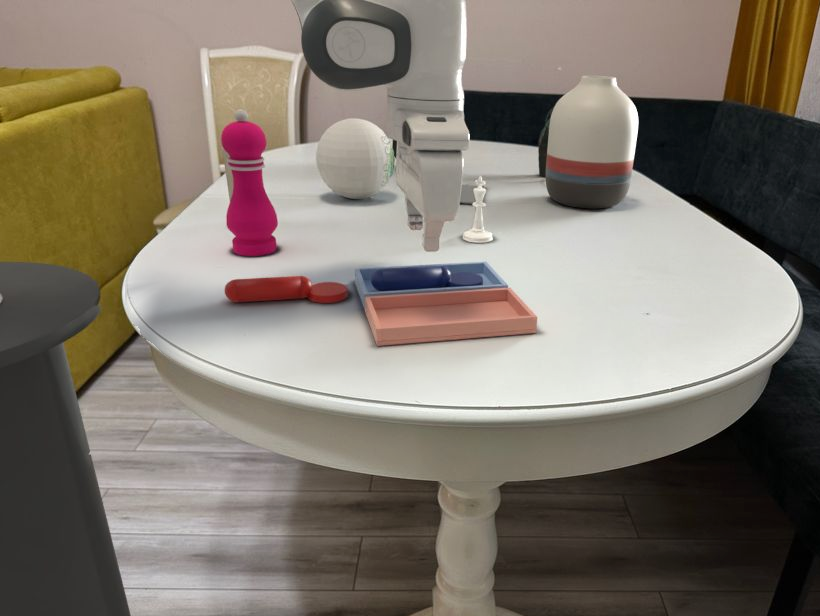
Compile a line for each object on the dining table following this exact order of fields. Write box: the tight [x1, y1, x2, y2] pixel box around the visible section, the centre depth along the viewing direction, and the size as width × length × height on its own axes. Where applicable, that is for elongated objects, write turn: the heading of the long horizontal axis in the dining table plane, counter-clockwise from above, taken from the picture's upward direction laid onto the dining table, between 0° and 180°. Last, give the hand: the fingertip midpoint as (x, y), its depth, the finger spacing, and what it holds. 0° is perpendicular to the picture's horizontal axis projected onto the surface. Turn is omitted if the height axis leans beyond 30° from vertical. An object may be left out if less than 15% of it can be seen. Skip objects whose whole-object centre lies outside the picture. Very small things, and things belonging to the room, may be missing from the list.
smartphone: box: [460, 184, 485, 205], centre depth 139 cm, size 8×1×16 cm
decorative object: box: [315, 117, 396, 200], centre depth 130 cm, size 15×15×15 cm
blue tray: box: [353, 261, 509, 311], centre depth 87 cm, size 18×10×2 cm, turn 105°
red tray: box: [364, 287, 538, 347], centre depth 78 cm, size 18×10×2 cm, turn 105°
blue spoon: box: [371, 266, 483, 291], centre depth 87 cm, size 15×5×3 cm, turn 105°
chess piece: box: [462, 176, 494, 244], centre depth 108 cm, size 5×5×10 cm
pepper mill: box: [220, 108, 279, 257], centre depth 97 cm, size 7×7×20 cm
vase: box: [545, 75, 639, 210], centre depth 132 cm, size 17×17×24 cm
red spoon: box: [224, 275, 349, 304], centre depth 83 cm, size 15×5×3 cm, turn 105°
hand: (422, 238), depth 85 cm, fingers open, 8 cm apart
